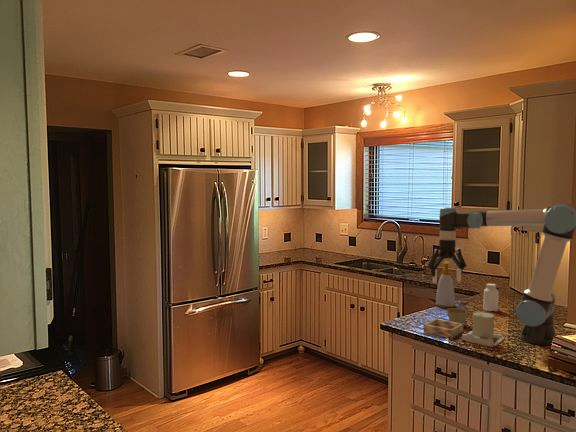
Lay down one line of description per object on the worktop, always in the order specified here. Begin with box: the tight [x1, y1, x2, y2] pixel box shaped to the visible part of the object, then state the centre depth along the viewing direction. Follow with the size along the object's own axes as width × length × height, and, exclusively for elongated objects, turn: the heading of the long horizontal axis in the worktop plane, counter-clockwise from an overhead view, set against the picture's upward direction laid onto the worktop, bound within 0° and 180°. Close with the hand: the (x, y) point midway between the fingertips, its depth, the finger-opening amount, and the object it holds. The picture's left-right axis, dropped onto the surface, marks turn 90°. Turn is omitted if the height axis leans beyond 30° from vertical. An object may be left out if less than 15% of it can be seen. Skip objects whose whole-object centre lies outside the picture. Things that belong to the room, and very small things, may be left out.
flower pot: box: [446, 307, 468, 325], centre depth 244 cm, size 10×10×7 cm
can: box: [472, 311, 495, 341], centre depth 221 cm, size 9×9×12 cm
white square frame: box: [460, 330, 505, 348], centre depth 221 cm, size 15×15×3 cm
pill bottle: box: [482, 283, 500, 312], centre depth 274 cm, size 8×8×15 cm
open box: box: [423, 318, 464, 339], centre depth 232 cm, size 14×14×4 cm
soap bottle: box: [435, 260, 456, 309], centre depth 283 cm, size 11×12×26 cm
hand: (446, 282), depth 234 cm, fingers open, 13 cm apart
